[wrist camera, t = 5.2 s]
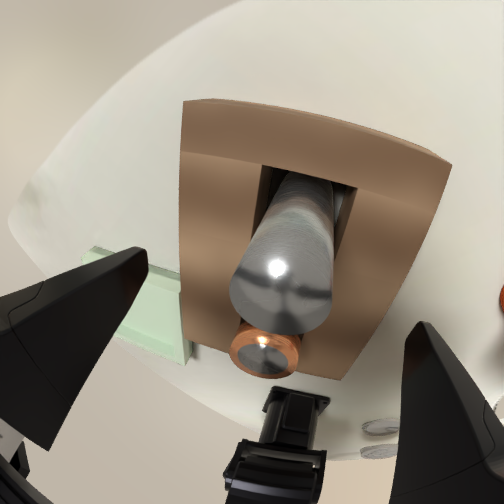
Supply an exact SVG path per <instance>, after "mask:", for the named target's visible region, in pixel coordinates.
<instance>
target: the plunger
mask: <svg viewBox="0 0 504 504" xmlns="http://www.w3.org/2000/svg"><path fill="white" fill-rule="evenodd" d="M300 347H301V341H300V338H299V336H298V335H277V334H272V333H269V332H265V331H263V330H260V329H258V328H256V327H254V326H253V325H251V324H250V323H248V322H247V321H245V322H244V323H242V324H241V325H240V326H239V327H238V329H237V332H236V334H235V337H234V339H233V342H232V344H231V346H230V349H229V355H230V358H231V360H232V361H233V362H234V364H235V365H236V366H237V367H239V368H240V369H241V370H243V371H245V372H246V373H249V374H251V375H253V376H257V377H261V378H267V379H278V378H283V377H286V376H289V375H291V374H292V373H293V372H294V371H295V370H296V368H297V363H298V358H299V353H300Z"/></svg>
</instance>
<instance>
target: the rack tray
mask: <svg viewBox="0 0 504 504" xmlns="http://www.w3.org/2000/svg"><path fill="white" fill-rule="evenodd" d="M112 254H115V253H113V252H110V251H107V250H104V249H101V248H99V247H96V246H94V247H93V248H92V249H91V250H90V251H88V252H87V253H86V254H85V255H84V256H83V257H81V260H82V264H83V265H85V264H88V263H90V262H93V261H96V260H98V259H101V258H104V257H106V256H109V255H112ZM148 266H149V273H148V276H147V278H146V280H145V281H144V283H143V285H142V287H141V289H140V291H139V293H138V295H137V297H136V298H135V300H134V302H133V304H132V306H131V308H130V310H129V312H128V313H127V315H126V316H125V318H124V319H123V321H122V322H121V324H120V326H119V327H118V329H117V330H116V332H115V333H114V335H113V336H115V337H118V338H120V339H122V340H124V341H126V342H128V343H130V344H133V345H135V346H137V347H139V348H142V349H144V350H146V351H148V352H151V353H153V354H156V355H158V356H160V357H163V358H165V359H168V360H170V361H173V362H176V363H178V364H181V365H183V366H185V365H186V364H187V362H188V360H189V358H190V356H191V354H192V352H193V346H192V341H190V340H187V339H184V329H183V316H182V301H181V283H180V274H178V273H175V272H172V271H168V270H165V269H162V268H159V267H156V266H152V265H149V264H148Z"/></svg>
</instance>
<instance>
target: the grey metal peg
mask: <svg viewBox="0 0 504 504" xmlns="http://www.w3.org/2000/svg"><path fill="white" fill-rule="evenodd" d="M333 261H334V214H333V189H332V185H331V183H330V181H329V180H327V179H323V178H319V177H315V176H311V175H307V174H303V173H299V172H294V171H291V172H290V173H288V174H287V175H286V176H285V178H284V179H283V181H282V183H281V185H280V187H279V189H278V190H277V192H276V194H275V196H274V198H273V200H272V202H271V204H270V206H269V207H268V209H267V211H266V213H265V215H264V217H263V219H262V221H261V223H260V224H259V226H258V228H257V230H256V232H255V234H254V236H253V238H252V240H251V242H250V243H249V245H248V247H247V249H246V251H245V253H244V255H243V257H242V259H241V261H240V263H239V264H238V266H237V268H236V270H235V272H234V274H233V276H232V278H231V281H230V285H229V294H230V299H231V302H232V304H233V306H234V308H235V309H236V311H237V312H238V313H239V315H240V316H241V317H242V318H243V319H244V320H246V321H247V322H248V323H250V324H251V325H253V326H254V327H256V328H258V329H260V330H263V331H265V332H269V333H272V334H277V335H298V334H302V333H306V332H309V331H311V330H313V329H315V328H317V327H318V326H319V325H321V324H322V323H323V322H324V321H325V319H326V318H327V317H328V315H329V313H330V310H331V306H332V293H333Z"/></svg>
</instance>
